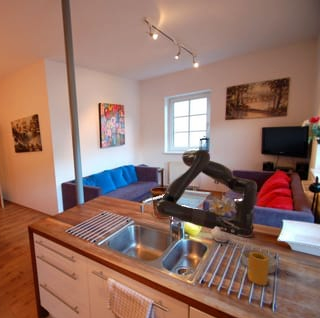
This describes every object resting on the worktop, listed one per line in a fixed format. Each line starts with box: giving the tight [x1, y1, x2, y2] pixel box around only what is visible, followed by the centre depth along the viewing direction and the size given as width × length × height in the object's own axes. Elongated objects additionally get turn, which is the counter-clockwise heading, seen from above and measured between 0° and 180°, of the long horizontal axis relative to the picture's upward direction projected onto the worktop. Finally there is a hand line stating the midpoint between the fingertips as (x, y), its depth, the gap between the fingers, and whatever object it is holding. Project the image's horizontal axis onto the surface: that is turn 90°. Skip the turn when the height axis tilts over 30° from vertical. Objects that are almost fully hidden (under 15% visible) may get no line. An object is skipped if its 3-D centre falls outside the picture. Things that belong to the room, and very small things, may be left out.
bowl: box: [241, 248, 278, 274], centre depth 93 cm, size 12×12×4 cm
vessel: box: [150, 186, 171, 219], centre depth 151 cm, size 14×14×20 cm
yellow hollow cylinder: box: [247, 252, 269, 286], centre depth 84 cm, size 6×6×11 cm
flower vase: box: [208, 194, 236, 243], centre depth 113 cm, size 13×18×25 cm
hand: (246, 228), depth 84 cm, fingers open, 8 cm apart
